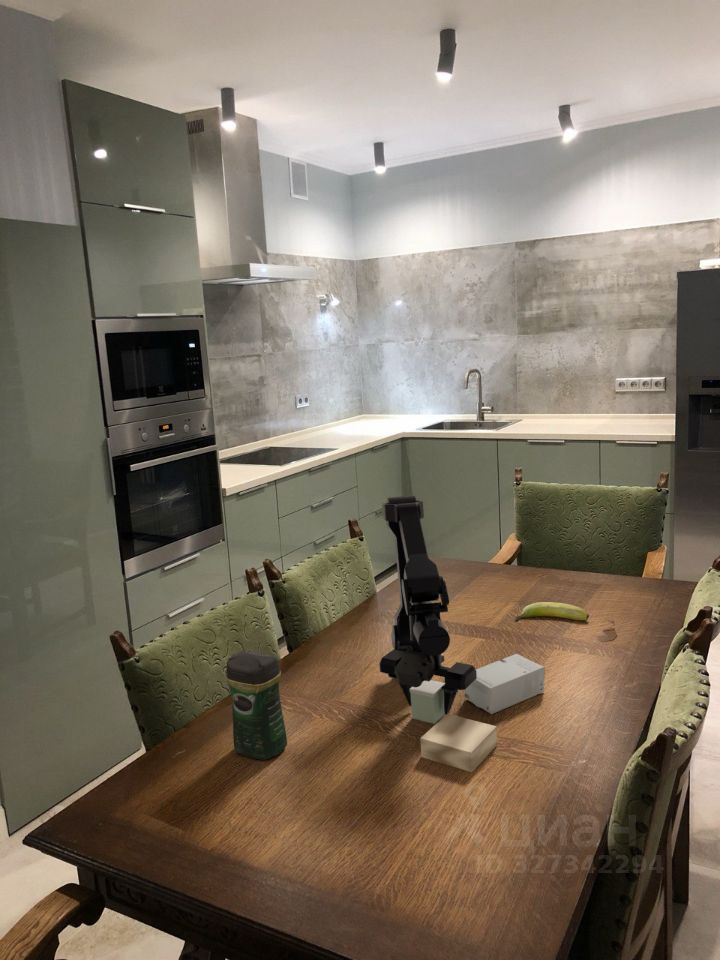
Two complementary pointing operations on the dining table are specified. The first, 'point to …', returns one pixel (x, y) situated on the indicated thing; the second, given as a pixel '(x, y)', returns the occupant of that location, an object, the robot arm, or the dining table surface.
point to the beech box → (459, 742)
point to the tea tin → (427, 701)
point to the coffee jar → (256, 705)
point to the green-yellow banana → (563, 615)
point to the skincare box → (505, 683)
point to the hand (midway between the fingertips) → (429, 709)
